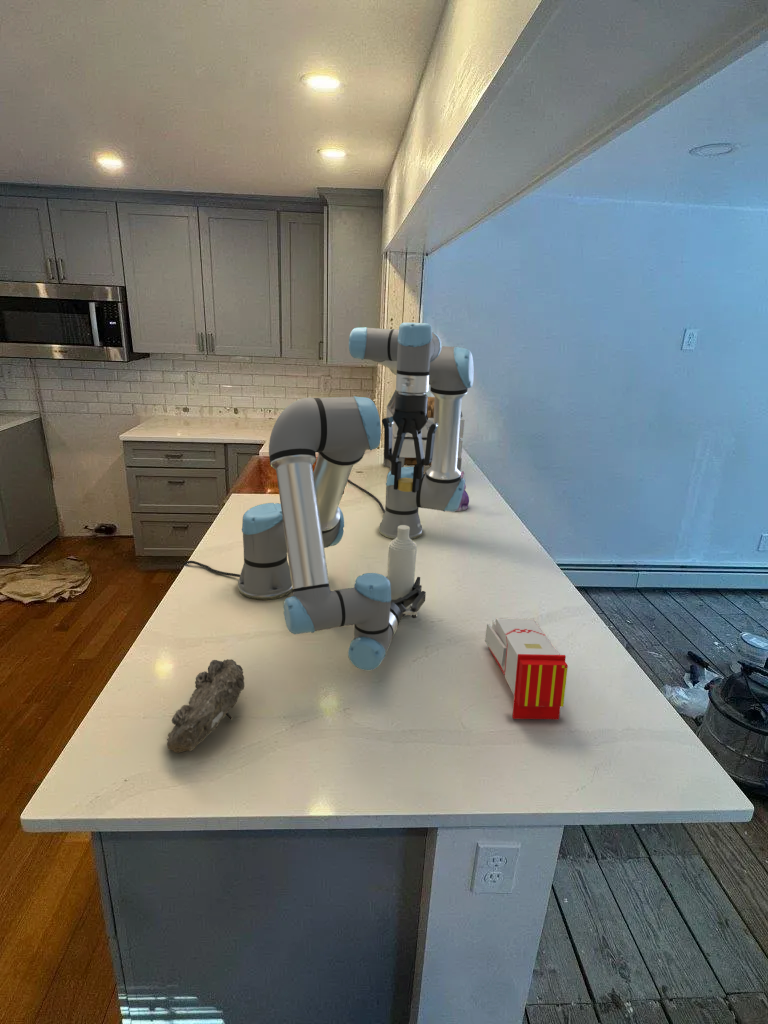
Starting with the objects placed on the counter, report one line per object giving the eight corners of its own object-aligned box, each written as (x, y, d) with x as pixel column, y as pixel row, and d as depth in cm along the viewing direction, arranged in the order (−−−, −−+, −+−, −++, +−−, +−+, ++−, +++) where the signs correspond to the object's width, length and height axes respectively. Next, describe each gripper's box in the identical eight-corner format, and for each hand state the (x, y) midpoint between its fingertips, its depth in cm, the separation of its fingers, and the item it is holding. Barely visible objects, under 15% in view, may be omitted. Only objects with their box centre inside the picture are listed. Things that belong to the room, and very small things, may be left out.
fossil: (192, 660, 117) (244, 628, 112) (224, 691, 120) (276, 661, 115) (142, 746, 98) (202, 712, 93) (182, 779, 101) (242, 748, 96)
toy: (531, 603, 136) (576, 661, 106) (526, 655, 139) (569, 725, 109) (481, 602, 135) (512, 660, 106) (477, 654, 138) (507, 724, 109)
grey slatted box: (382, 463, 289) (386, 382, 275) (445, 464, 293) (451, 384, 279) (390, 482, 257) (394, 392, 243) (460, 483, 261) (468, 394, 247)
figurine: (455, 513, 222) (459, 476, 217) (441, 505, 231) (444, 469, 226) (475, 510, 226) (479, 474, 221) (460, 502, 235) (464, 467, 230)
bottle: (397, 600, 154) (401, 520, 147) (417, 609, 150) (423, 527, 142) (380, 609, 149) (383, 526, 142) (400, 619, 145) (406, 534, 137)
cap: (394, 488, 139) (394, 479, 138) (407, 485, 142) (407, 476, 141) (405, 492, 136) (405, 483, 135) (418, 490, 138) (418, 481, 138)
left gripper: (341, 628, 135) (368, 585, 156) (423, 643, 130) (440, 597, 151) (341, 600, 132) (369, 561, 153) (426, 614, 128) (442, 572, 149)
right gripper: (371, 391, 130) (368, 488, 138) (443, 398, 125) (435, 499, 133) (383, 387, 137) (379, 480, 145) (451, 394, 131) (444, 490, 139)
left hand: (404, 579), depth 152 cm, fingers closed on bottle, 7 cm apart
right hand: (406, 489), depth 139 cm, fingers closed on cap, 4 cm apart
